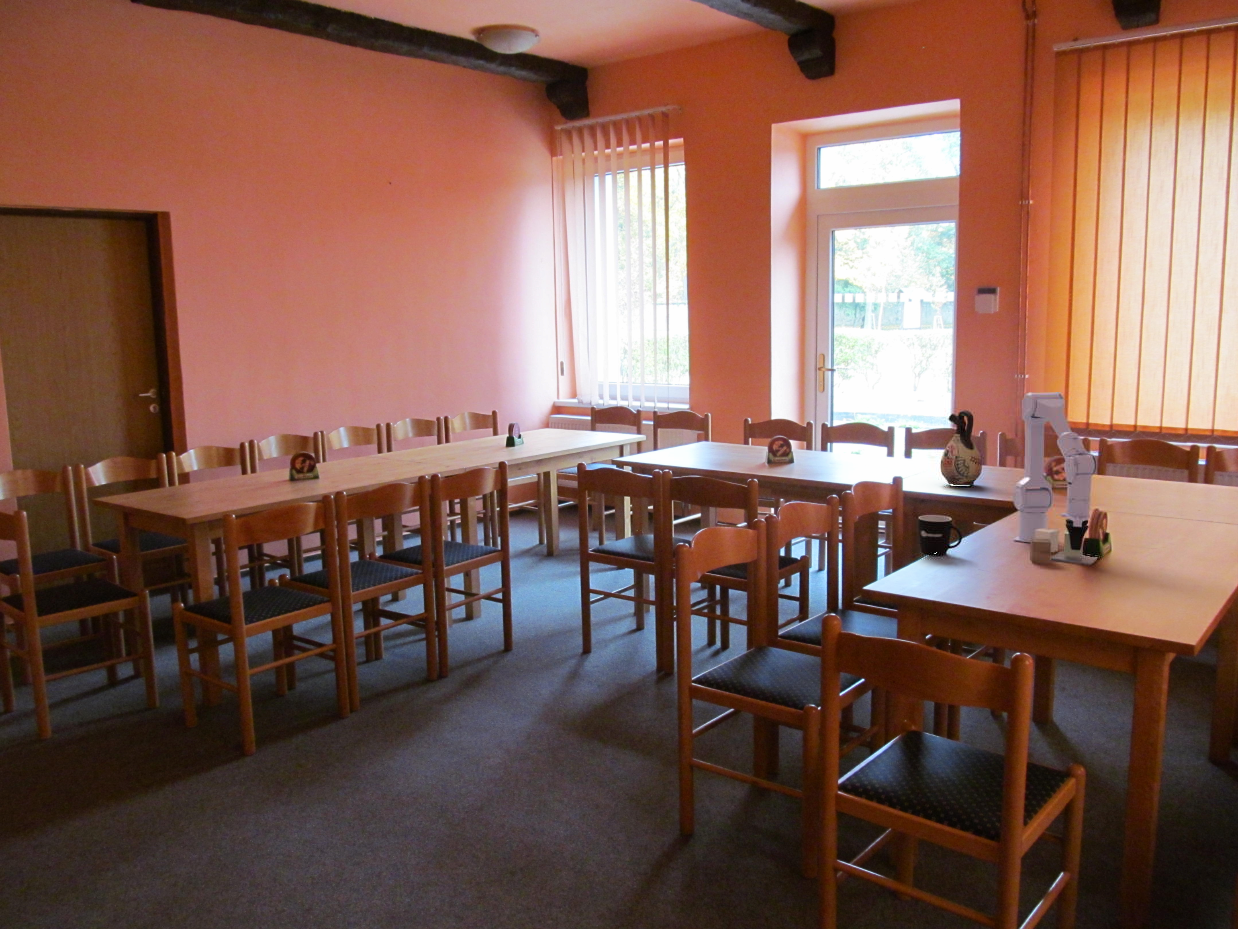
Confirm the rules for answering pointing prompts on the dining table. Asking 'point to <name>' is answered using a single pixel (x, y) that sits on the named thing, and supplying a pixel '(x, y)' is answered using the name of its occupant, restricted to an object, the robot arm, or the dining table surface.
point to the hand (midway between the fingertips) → (1075, 547)
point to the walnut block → (1040, 550)
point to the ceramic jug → (961, 453)
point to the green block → (1067, 547)
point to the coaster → (1074, 559)
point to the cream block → (1049, 537)
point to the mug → (936, 534)
